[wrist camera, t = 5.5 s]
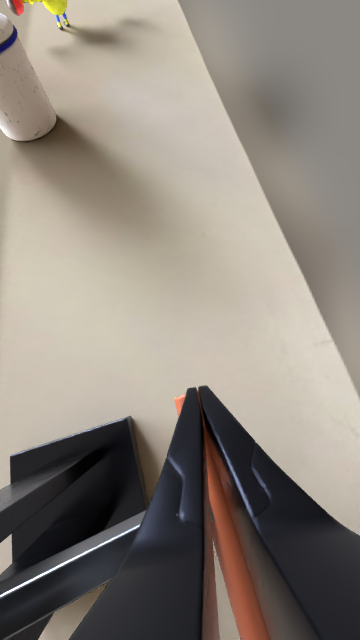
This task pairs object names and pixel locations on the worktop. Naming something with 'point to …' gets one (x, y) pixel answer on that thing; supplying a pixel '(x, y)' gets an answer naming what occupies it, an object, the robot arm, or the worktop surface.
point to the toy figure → (54, 3)
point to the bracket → (69, 496)
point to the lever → (107, 556)
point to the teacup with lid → (21, 90)
